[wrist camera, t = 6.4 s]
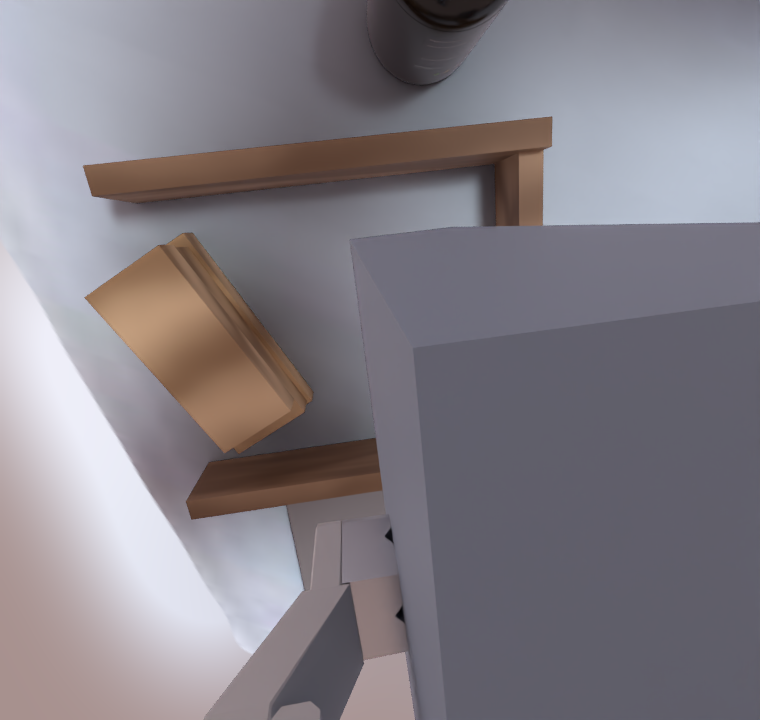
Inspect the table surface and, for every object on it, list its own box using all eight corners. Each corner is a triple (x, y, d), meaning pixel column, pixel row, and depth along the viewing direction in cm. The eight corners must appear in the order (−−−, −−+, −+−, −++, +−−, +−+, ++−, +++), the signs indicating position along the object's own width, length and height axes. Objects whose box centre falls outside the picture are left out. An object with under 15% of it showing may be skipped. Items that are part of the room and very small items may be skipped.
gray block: (349, 239, 11) (410, 348, 1) (453, 226, 12) (1422, 210, 1) (392, 566, 15) (499, 1291, 5) (469, 554, 15) (733, 1233, 5)
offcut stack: (124, 281, 28) (69, 293, 22) (193, 233, 27) (155, 232, 22) (251, 430, 32) (232, 472, 26) (313, 390, 32) (307, 425, 26)
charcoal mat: (286, 491, 34) (284, 497, 33) (427, 470, 34) (428, 475, 34) (309, 601, 37) (308, 608, 37) (436, 580, 38) (438, 587, 37)
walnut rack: (130, 178, 26) (82, 165, 21) (515, 137, 27) (552, 116, 22) (213, 478, 33) (191, 519, 28) (517, 433, 34) (546, 465, 29)
